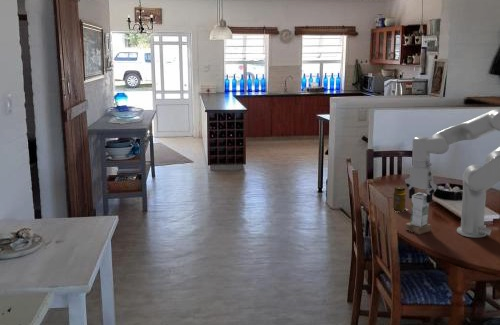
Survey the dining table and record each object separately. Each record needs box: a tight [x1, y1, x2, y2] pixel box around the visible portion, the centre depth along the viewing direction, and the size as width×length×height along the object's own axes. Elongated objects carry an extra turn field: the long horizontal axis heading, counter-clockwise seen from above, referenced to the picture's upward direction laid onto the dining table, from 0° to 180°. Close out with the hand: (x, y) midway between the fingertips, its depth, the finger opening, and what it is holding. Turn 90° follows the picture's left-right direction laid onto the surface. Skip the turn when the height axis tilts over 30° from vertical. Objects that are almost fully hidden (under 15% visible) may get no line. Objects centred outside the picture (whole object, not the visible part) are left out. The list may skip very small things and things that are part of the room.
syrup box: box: [410, 192, 430, 227], centre depth 235 cm, size 6×6×14 cm
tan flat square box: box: [404, 222, 432, 236], centre depth 237 cm, size 8×8×3 cm
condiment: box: [392, 186, 409, 214], centre depth 266 cm, size 7×8×12 cm
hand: (420, 200), depth 234 cm, fingers open, 9 cm apart
